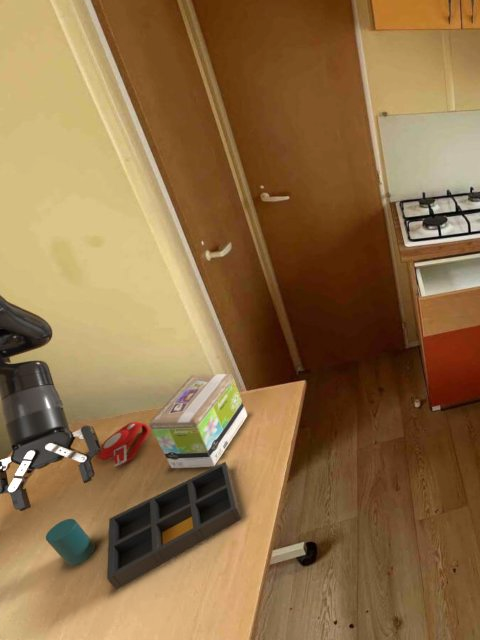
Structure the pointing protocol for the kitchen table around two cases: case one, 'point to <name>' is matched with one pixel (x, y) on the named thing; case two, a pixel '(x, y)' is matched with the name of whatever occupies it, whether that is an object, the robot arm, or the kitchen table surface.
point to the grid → (170, 524)
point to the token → (70, 542)
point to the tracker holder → (123, 443)
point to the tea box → (199, 421)
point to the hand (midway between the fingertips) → (57, 495)
